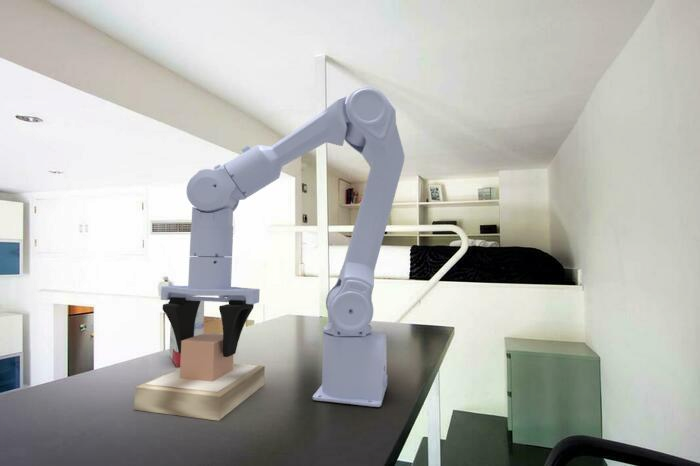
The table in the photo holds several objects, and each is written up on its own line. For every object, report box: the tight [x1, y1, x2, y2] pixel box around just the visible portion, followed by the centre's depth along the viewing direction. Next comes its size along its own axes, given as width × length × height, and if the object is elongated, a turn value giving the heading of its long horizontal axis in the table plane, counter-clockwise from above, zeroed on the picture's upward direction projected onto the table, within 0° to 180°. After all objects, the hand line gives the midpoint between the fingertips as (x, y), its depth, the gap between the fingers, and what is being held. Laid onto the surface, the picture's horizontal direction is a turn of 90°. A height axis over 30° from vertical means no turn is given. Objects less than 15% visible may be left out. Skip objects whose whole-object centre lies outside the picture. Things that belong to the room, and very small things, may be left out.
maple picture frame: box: [133, 362, 266, 422], centre depth 49 cm, size 12×12×3 cm
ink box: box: [169, 296, 205, 368], centre depth 65 cm, size 9×5×12 cm, turn 33°
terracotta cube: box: [179, 332, 234, 382], centre depth 49 cm, size 5×5×5 cm
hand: (207, 353), depth 49 cm, fingers open, 6 cm apart
